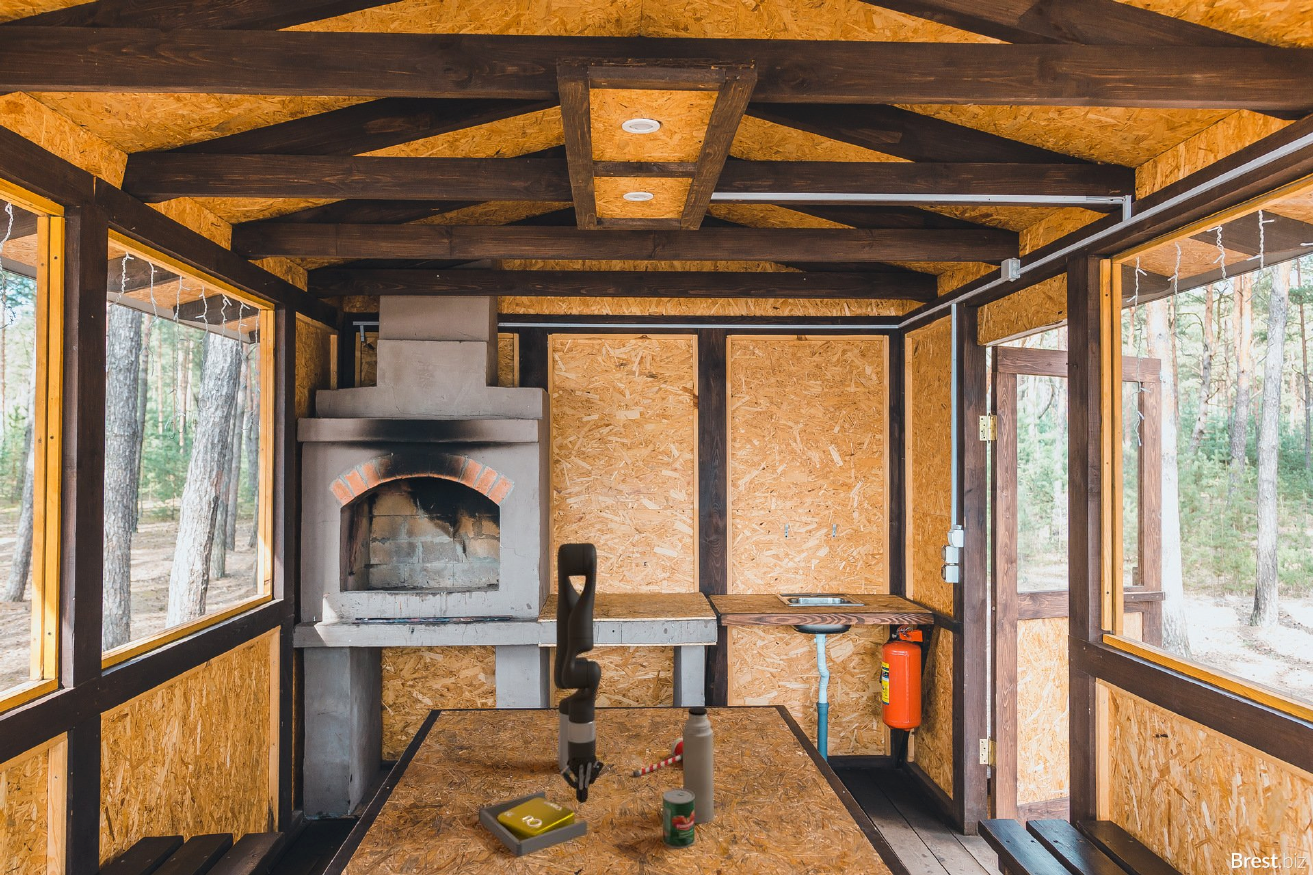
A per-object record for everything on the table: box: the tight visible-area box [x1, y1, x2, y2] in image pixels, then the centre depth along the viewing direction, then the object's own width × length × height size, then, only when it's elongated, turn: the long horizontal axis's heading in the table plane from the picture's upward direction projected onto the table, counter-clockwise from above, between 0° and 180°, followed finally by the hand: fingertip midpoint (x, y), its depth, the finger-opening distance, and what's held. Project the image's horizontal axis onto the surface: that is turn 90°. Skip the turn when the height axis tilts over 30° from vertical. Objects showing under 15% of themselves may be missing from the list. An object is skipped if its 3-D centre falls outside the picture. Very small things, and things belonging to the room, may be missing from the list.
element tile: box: [497, 797, 576, 841], centre depth 195 cm, size 15×15×5 cm
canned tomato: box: [662, 788, 696, 849], centre depth 189 cm, size 8×8×11 cm
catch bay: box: [478, 790, 588, 858], centre depth 196 cm, size 23×19×3 cm
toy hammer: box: [632, 737, 683, 778], centre depth 233 cm, size 23×12×6 cm, turn 122°
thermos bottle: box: [682, 706, 715, 824], centre depth 202 cm, size 8×8×28 cm
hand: (581, 801), depth 205 cm, fingers closed
